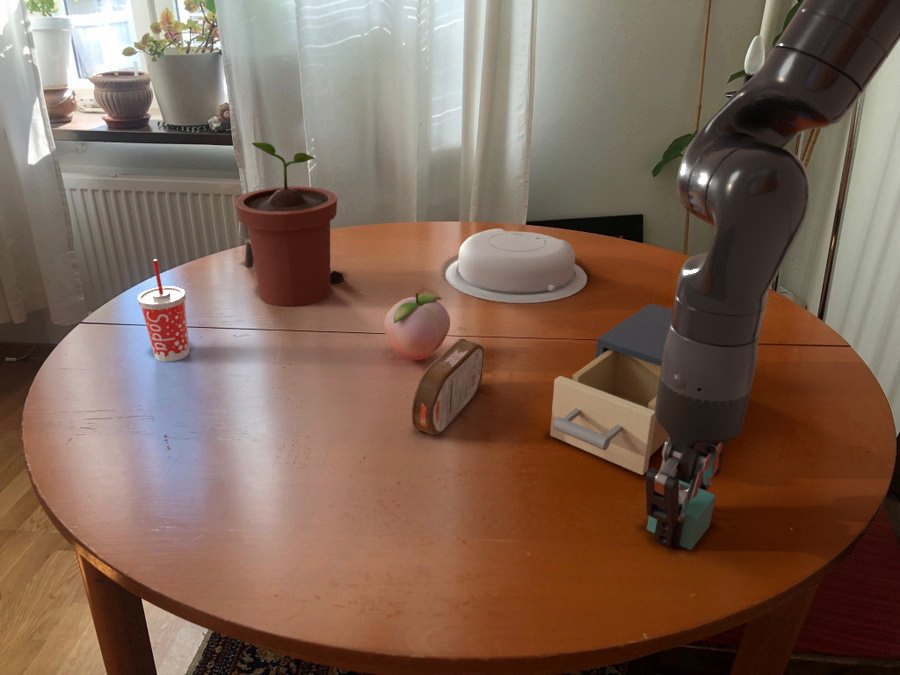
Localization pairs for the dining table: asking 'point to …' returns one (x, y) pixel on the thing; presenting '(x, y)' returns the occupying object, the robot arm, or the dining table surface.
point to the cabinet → (639, 335)
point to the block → (693, 518)
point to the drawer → (610, 410)
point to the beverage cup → (165, 320)
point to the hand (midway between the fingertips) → (677, 530)
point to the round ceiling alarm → (516, 267)
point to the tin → (447, 386)
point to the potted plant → (289, 239)
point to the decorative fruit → (417, 326)
